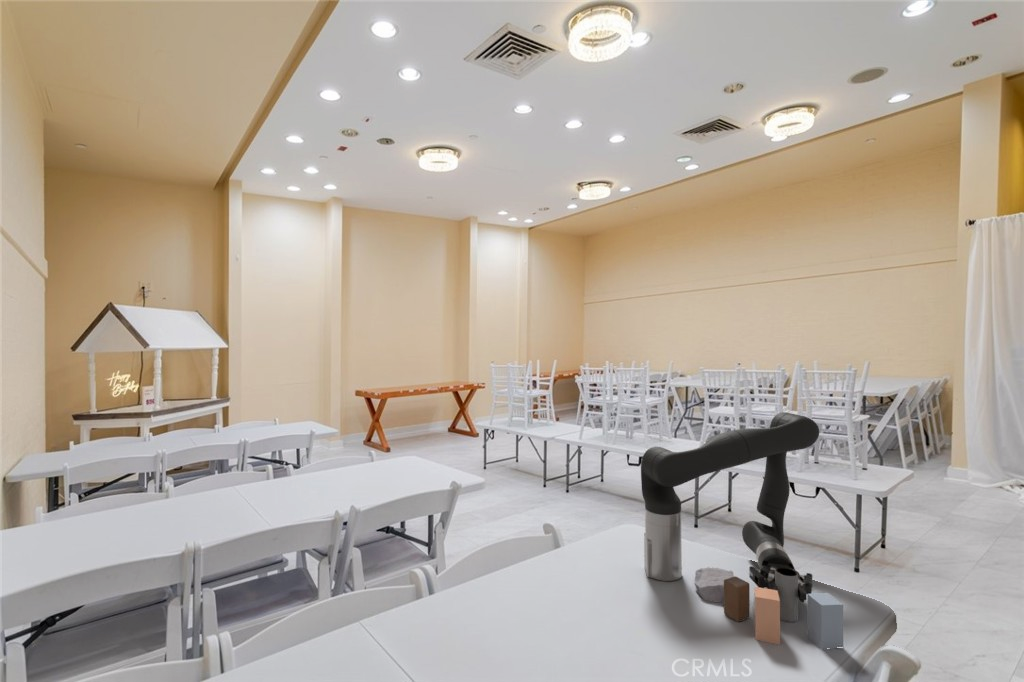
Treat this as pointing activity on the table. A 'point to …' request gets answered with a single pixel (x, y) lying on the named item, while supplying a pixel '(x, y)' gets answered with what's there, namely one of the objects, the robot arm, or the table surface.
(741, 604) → the wooden block
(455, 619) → the table surface
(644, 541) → the robot arm
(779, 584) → the planter
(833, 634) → the slate-blue block
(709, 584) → the stone block
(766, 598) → the terracotta block
